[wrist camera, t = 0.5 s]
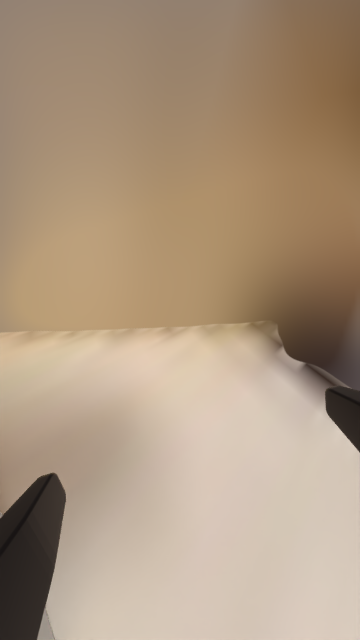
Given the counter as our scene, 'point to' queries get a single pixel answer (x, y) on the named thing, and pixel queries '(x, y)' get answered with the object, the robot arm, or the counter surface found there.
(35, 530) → the robot arm
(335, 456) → the counter surface
